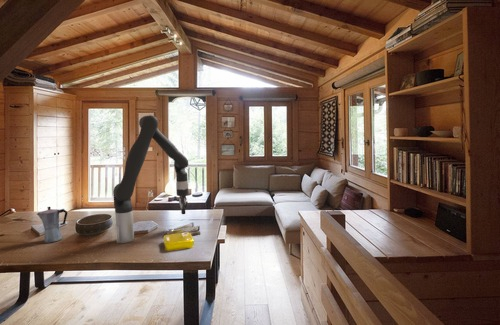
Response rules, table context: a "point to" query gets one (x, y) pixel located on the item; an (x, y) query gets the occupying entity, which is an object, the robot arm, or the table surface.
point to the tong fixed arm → (184, 230)
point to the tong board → (189, 232)
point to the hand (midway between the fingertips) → (183, 213)
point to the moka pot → (52, 224)
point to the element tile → (178, 241)
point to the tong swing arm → (185, 226)
